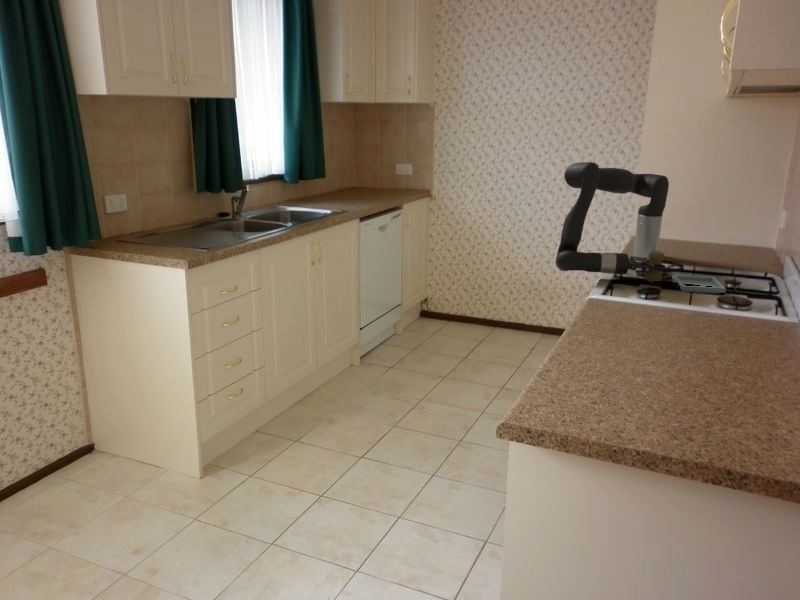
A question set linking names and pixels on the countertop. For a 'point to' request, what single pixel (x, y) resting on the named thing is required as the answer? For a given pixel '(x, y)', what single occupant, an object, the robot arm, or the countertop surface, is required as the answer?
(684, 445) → the countertop surface
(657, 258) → the cork
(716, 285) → the tray
